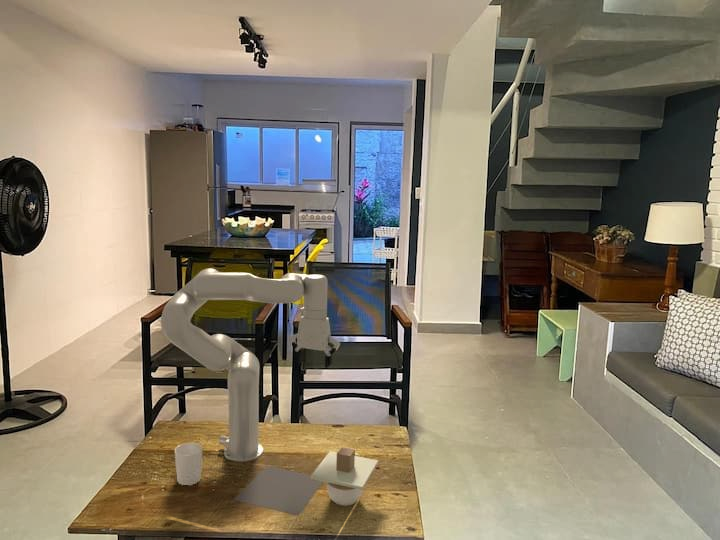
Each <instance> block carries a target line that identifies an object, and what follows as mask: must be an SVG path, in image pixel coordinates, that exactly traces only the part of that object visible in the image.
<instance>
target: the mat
mask: <svg viewBox="0 0 720 540" xmlns="http://www.w3.org/2000/svg"><path fill="white" fill-rule="evenodd" d="M311 475H312V474H307V473H303V472H299V471H298V472H297V471H293V470H290V469H289V470H288V469H285V468H280V467H276V466H272V465H265V466H264V468H263V469H262V470H261V471H260V472H258V474H257V475H256V476H255V477H254V478H253V479H252V480H251V481H250V482H249V483H248V484H247V485H246V486H245V487H244V488H243V489H242V490H241V491H240V492H239V493H238V494H237V495H236V496H235V497H234V498H233V501H236V502H240V503H244V504H249V505H253V506H257V507H261V508H265V509H269V510H273V511H278V512H282V513H286V514H289V515H295V516H298V517H299V515H300V514H301V513H302V511H303V510H304V509H305V508H306V506H307V505H308V504H309V502H310V501H311V499H312V498H313V497H314V495H315V494H316V492H317V491H318V490H319V489H320V487H321V485H322V484H323V483H324V482H323V481H319V480H314V479H310V476H311Z"/></svg>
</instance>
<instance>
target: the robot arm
mask: <svg viewBox="0 0 720 540" xmlns="http://www.w3.org/2000/svg"><path fill="white" fill-rule="evenodd" d="M328 285H329V283H328V278H327V277H326V275H323V274H316V273H315V274H301V273H295V272H289V273H288V272H287V273H286V274H284V275H283V276H281V278H279V279H276V278H274V279H273V278H265V277H264V278H263V277H259V276H256V275H253V274H252V273H249V272H222V271H219V270H217V269H215V268H211V267H210V268H205V269H202V270H200V271H199V272H198V273H197V274H196V275H195V276H193V278H192V279H191V280H189V282H187V283H186V284H184V285H183V287H182V288H180V289H179V290H178V291H177V292H176V293H175V294H174V295H173V296H172V297H171V298H170V299H169V300H168V301H167V303H166V304H165V306H164V308H163V310H162V312H161V313H162V314H161V318H160V325H161V331H162V332H163V335H164V336H165V338H166V339H167V341H169V342H171V344H172V345H174V346H176V347H177V348H179V349H180V350H182V351H183V352H184V353H186V354H187V355H188V356H189V357H192V358H193V359H194V360H196V361H197V362H198V363H199V364H201V365H203V366H204V367H205V368H206V369H208V370H211V371H213V372H221V371H223V370H224V369H226V370H227V371H228V375H227V393H228V394H227V395H228V398H227V399H228V436H225V435H220V436H219V442H218V444H219V445H221V446H225V448H224V450H223V455H224V457H225V459H226V460H228V461H233V462H249V461H253V460H256V459H259V458H260V457H261V456H262V454H263V453H264V447H263V446H262V445H261V444H260V443H259V432H260V431H259V426H260V425H259V423H260V422H259V420H260V419H259V408H260V407H259V404H260V403H259V401H260V400H259V399H260V398H259V397H260V396H259V395H260V393H259V390H260V388H259V386H260V361H259V359H258V357H256V355H255V354H254V353H253V352H251V351H250V350H248V349H247V348H246V347H244V346H243V345H242V344H240V343H238V341H236V340H235V339H233V338H232V337H230V336H228V335H226V334H224V333H223V334H222V333H216V334H215V333H214V334H212V335H210V334H208V332H206V331H204V330H203V329H202V328H200V327H198V326H196V325H194V324H193V323H192V322H191V319H192V317H193V316H194V314H195V313H196V312H197V310H199V308H201V307H202V306H203V305H204V304H205V303H207V302H208V301H227V300H228V301H229V300H230V301H232V300H233V301H235V300H236V301H250V302H257V303H264V304H293V303H296V302H299V301H300V300H301V299H302V298H303V305H302V306H303V307H300V308H299V310H298V311H299V313H302V316H300V317H299V318H300V319H299V323H298V328H297V329H298V330H297V333H294V334H293V335H290V336H288V337H289V338H288V339H289V341H290V343H291V346H292V347H293V349H294V351H295V352H296V354H295V355H296V361H297V364H299V365H300V364H301V363H302V362H303V361H304V349H307V350H308V349H309V350H315V351H323V352H324V353H325V354H326V355H325V356H324V359H325V360H324V368H326V369H328V368H329V367H330V366H331V365H332V361H333V354H334V353H335V352H337V351H338V348H339V347H340V345H341V342H340V341H338V340H336V339H335V338H334V337H332V335H331V326H330V325H331V324H330V319H329V317H327V315H328V314H327V313H328ZM296 340H297V341H296ZM331 344H332V345H333V347H331Z"/></svg>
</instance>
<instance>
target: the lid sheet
mask: <svg viewBox="0 0 720 540" xmlns="http://www.w3.org/2000/svg"><path fill="white" fill-rule="evenodd" d="M378 464H379V460H378V459H372V458H368V457H362V456H359V455H356V449H354V448H349V447H343V446H342V447H340V449H339V450H338V451H332V450H329V452H328V453H327V454H326V456H325V457H324V458H323V459H322V461H321V462H320V463H319V465H317V467H316V468H315V470H314V471H313V472H312V473H311V474H310V475H311V476H310V479H314V480H319V481H323V483H324V482H325V483H327V482H328V483H333V484H338V485H342V486H347V487H352V488H356V489H361V490H363V491H364V487H366V484H367V483H368V481H369V480H370V478H371V476H372V474H373V473H374V471H375V469H376V467H377V465H378Z"/></svg>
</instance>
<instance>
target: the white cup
mask: <svg viewBox="0 0 720 540" xmlns="http://www.w3.org/2000/svg"><path fill="white" fill-rule="evenodd" d="M174 459H175V461H174V462H175V471H176V479H177V480H176V481H177V483H178V484H179V485H180V484H181V485H180V486H183V485H189V486H194V485H195V484H196V485H197V484H198V483H199V482H201V480H200V479H201V477H202V469H203V467H202V466H203V465H202V464H203V463H202V462H203V445H202V444H200V443H197V442H185V443H182V444H180V445H178V446H176V447H175V448H174ZM197 482H198V483H197ZM193 484H194V485H193Z"/></svg>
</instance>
